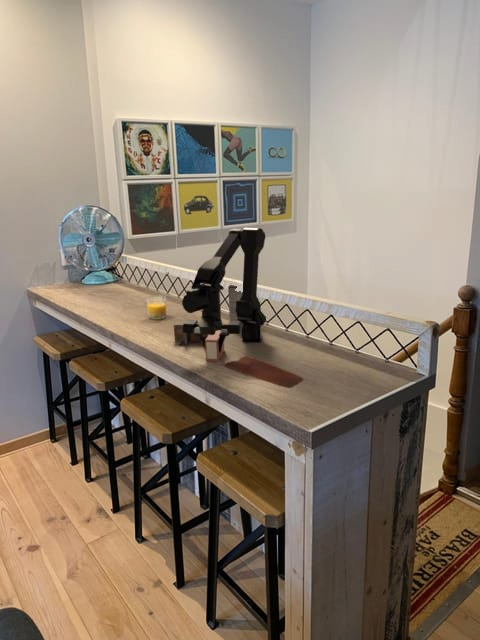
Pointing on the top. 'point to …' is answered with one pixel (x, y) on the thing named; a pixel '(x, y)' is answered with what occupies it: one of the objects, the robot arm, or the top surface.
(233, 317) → the coffee box
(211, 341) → the block
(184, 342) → the bookend
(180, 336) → the wooden display stand
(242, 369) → the wooden tablet
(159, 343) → the top surface
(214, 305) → the robot arm
